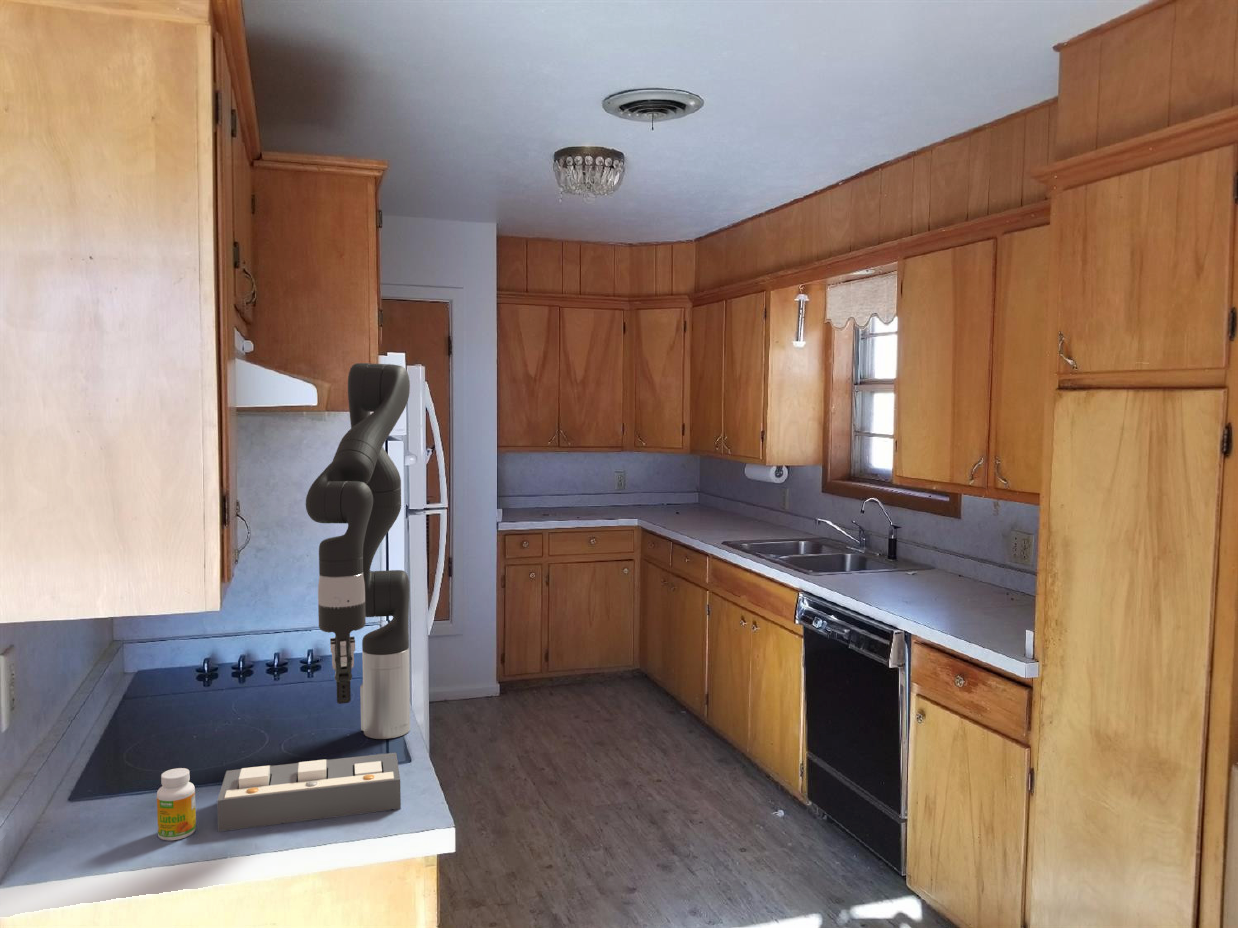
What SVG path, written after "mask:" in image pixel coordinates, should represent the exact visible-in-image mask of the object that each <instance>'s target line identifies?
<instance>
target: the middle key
mask: <svg viewBox="0 0 1238 928" xmlns="http://www.w3.org/2000/svg"><path fill="white" fill-rule="evenodd" d="M326 760H327V759H317V760H309V761H308V760H307V761H299V762H298V763H299V766H298V782H305V781H314V780H323V779H326V778H327V769H326Z"/></svg>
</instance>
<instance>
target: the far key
mask: <svg viewBox="0 0 1238 928" xmlns="http://www.w3.org/2000/svg"><path fill="white" fill-rule="evenodd" d="M376 773H382V766H381V761H377V762H368V763H359V764H355V776H358V775H367V774H376Z"/></svg>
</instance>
